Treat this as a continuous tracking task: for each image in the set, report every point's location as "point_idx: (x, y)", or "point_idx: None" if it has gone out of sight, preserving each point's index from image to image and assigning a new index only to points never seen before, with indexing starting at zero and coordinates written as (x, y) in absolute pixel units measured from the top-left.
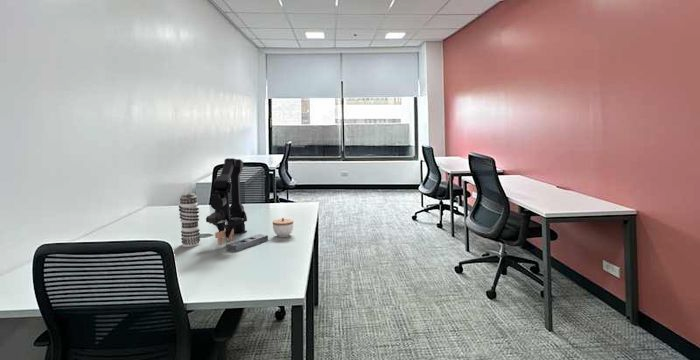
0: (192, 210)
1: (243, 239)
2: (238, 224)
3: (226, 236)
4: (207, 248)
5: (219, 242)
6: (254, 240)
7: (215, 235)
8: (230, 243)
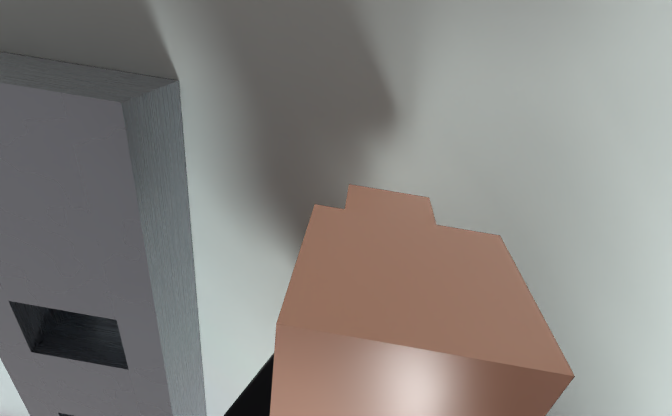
0: None
1: (153, 396)
2: None
3: None
4: (593, 41)
5: (391, 207)
6: (26, 393)
7: (516, 287)
8: (128, 199)
